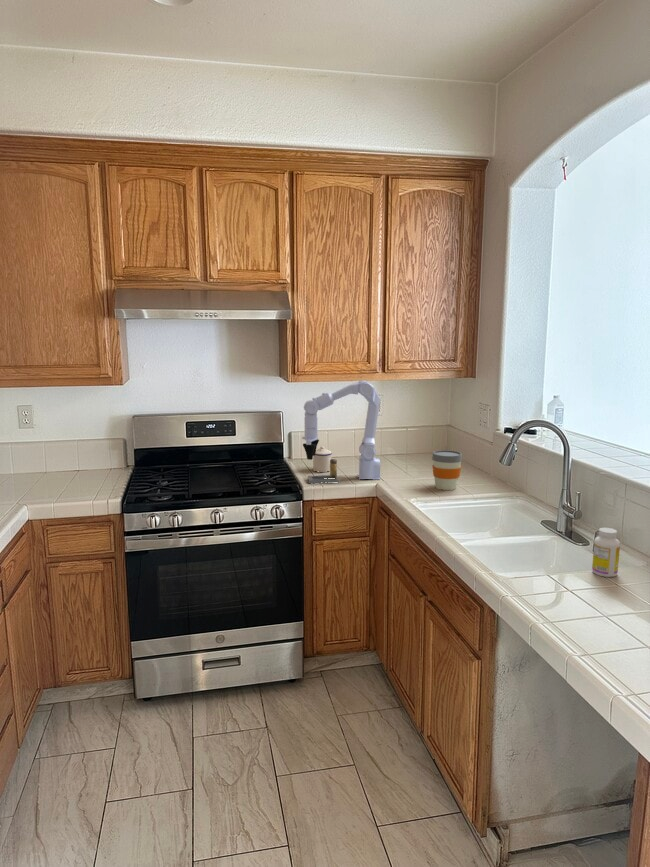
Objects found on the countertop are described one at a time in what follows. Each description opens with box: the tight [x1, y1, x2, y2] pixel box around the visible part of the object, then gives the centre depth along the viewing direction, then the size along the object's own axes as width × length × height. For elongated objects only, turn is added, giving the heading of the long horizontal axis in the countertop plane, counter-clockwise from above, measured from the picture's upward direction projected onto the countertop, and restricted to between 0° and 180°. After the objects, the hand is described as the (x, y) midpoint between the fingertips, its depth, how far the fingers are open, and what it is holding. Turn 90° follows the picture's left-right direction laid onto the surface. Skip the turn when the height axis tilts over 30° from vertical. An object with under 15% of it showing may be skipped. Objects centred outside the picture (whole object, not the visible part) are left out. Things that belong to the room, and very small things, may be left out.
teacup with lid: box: [312, 445, 333, 473], centre depth 292 cm, size 12×9×12 cm
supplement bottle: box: [591, 527, 621, 578], centre depth 173 cm, size 7×7×13 cm
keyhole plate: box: [307, 474, 340, 484], centre depth 272 cm, size 13×8×2 cm, turn 97°
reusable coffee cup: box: [431, 449, 463, 491], centre depth 262 cm, size 13×12×15 cm
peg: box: [329, 458, 338, 475], centre depth 279 cm, size 3×3×8 cm
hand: (311, 457), depth 274 cm, fingers open, 7 cm apart
